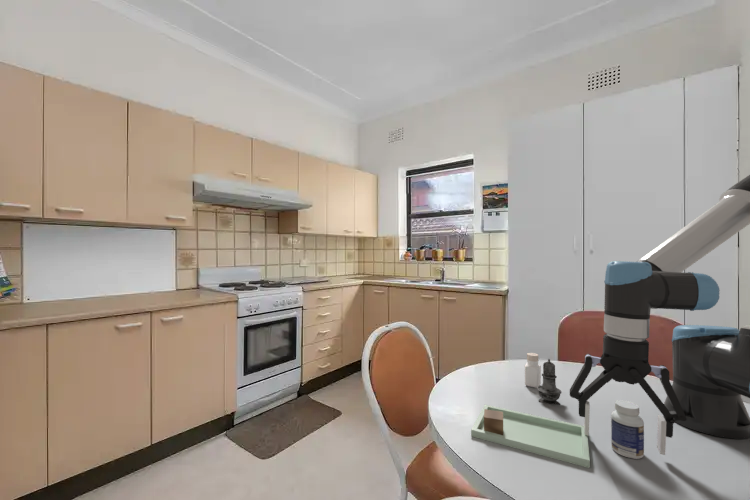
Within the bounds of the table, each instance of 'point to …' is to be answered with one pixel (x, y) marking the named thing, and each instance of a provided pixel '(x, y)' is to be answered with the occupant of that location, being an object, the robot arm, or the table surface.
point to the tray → (538, 436)
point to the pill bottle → (627, 430)
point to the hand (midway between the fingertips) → (621, 441)
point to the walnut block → (493, 421)
